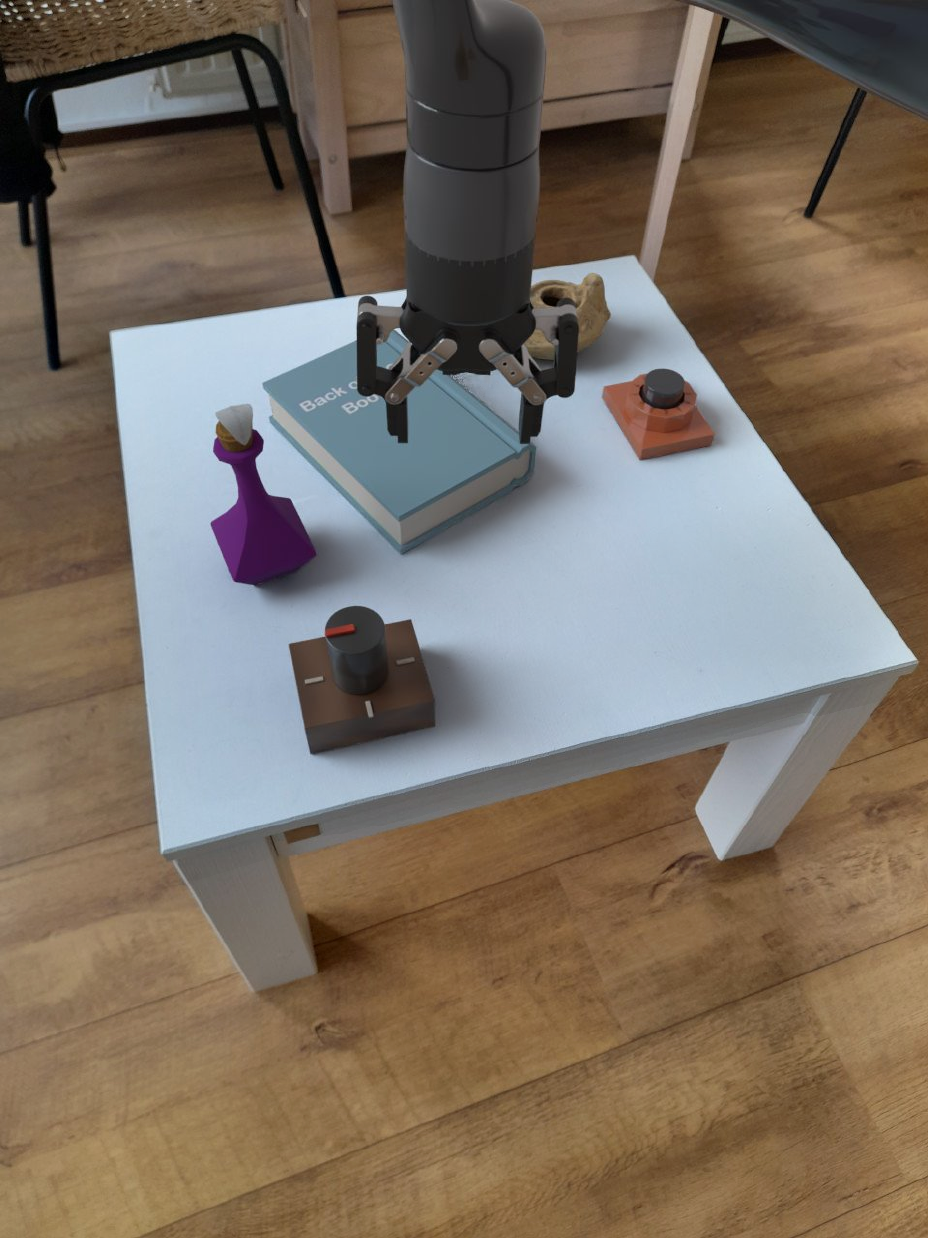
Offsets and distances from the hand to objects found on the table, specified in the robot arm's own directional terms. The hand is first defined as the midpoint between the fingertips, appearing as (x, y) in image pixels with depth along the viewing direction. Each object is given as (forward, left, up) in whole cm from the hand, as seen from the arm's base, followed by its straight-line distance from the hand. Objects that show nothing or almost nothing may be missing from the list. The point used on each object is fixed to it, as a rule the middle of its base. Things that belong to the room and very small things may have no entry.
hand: (464, 435), depth 65 cm
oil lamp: (+5, -37, -20) cm, 42 cm away
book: (+13, -16, -20) cm, 29 cm away
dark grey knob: (-10, -30, -17) cm, 36 cm away
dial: (+4, +12, -16) cm, 20 cm away
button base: (-10, -30, -20) cm, 38 cm away
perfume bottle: (+18, +2, -20) cm, 27 cm away
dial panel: (+4, +12, -20) cm, 23 cm away
